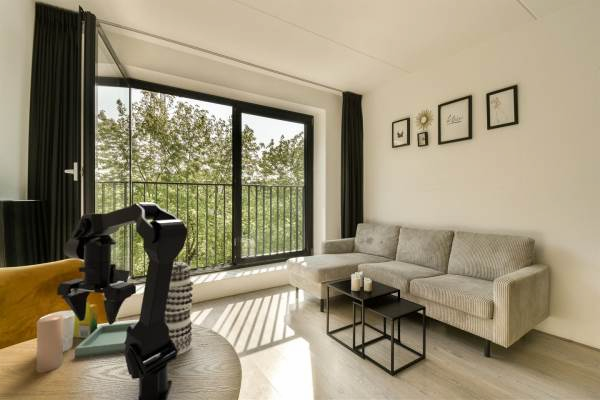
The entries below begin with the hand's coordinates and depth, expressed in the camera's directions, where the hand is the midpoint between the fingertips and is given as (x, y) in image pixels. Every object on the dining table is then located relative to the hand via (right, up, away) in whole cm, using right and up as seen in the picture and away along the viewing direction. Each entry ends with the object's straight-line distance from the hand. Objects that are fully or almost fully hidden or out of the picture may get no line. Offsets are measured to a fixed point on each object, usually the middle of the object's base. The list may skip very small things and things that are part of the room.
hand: (96, 322), depth 70 cm
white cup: (-19, -13, +10) cm, 25 cm away
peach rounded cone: (-13, -12, +2) cm, 18 cm away
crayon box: (-18, -13, +18) cm, 29 cm away
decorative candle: (+16, -13, +10) cm, 23 cm away
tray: (-5, -13, +15) cm, 20 cm away
